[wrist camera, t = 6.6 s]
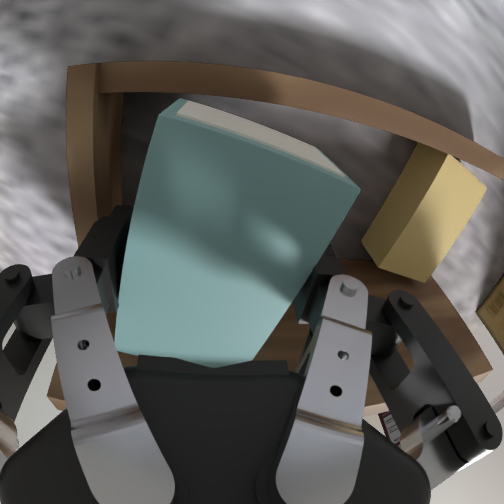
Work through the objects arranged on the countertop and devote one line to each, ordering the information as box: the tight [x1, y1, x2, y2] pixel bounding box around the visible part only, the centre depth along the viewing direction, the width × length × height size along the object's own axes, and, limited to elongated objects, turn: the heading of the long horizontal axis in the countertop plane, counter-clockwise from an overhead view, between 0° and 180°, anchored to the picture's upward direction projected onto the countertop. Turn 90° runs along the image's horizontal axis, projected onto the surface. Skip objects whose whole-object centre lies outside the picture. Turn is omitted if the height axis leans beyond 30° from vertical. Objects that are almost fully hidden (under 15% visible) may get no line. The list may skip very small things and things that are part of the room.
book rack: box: [47, 61, 504, 417], centre depth 13 cm, size 13×26×12 cm, turn 81°
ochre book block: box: [361, 142, 487, 283], centre depth 19 cm, size 9×6×4 cm, turn 158°
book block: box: [114, 98, 361, 368], centre depth 11 cm, size 9×6×4 cm, turn 158°
